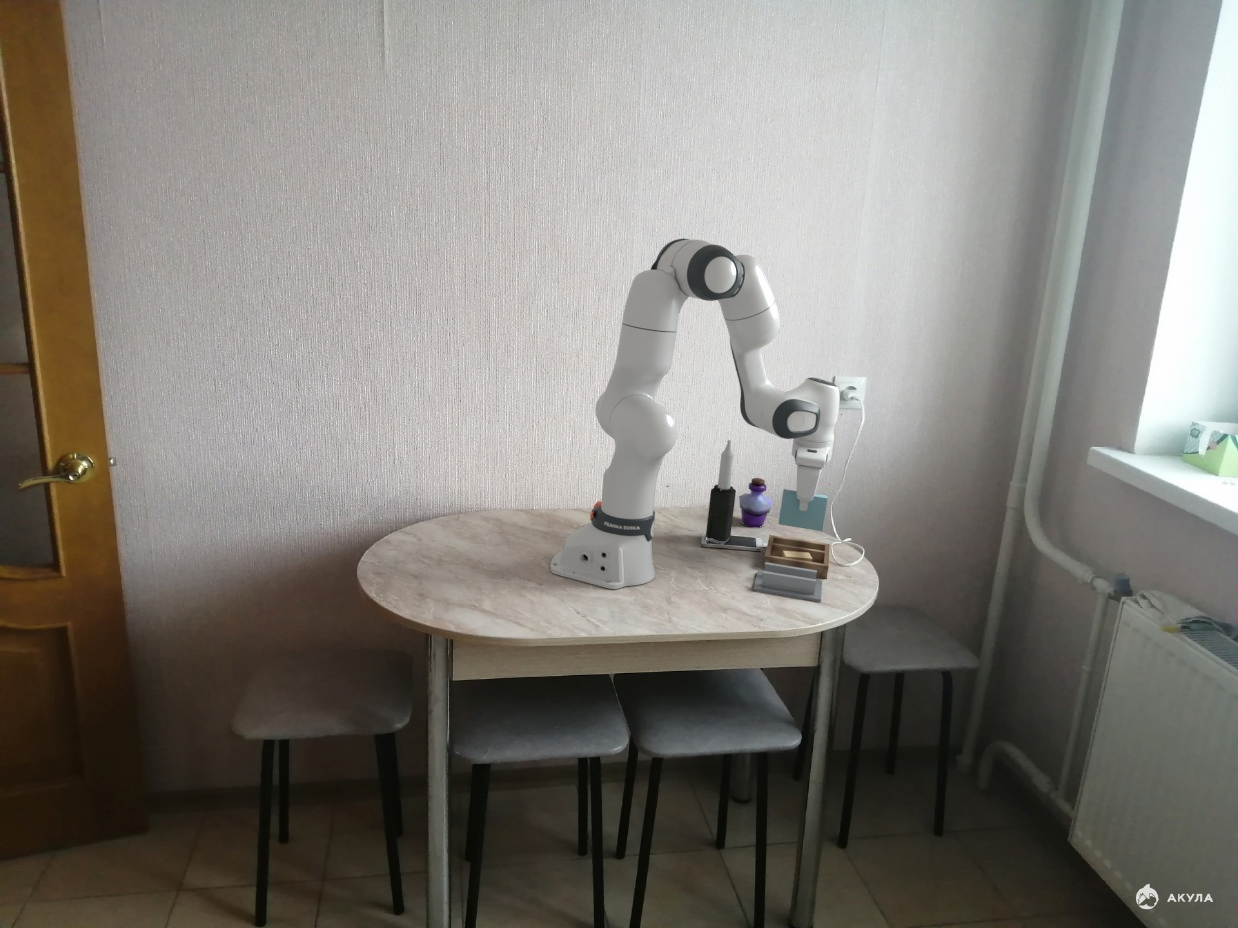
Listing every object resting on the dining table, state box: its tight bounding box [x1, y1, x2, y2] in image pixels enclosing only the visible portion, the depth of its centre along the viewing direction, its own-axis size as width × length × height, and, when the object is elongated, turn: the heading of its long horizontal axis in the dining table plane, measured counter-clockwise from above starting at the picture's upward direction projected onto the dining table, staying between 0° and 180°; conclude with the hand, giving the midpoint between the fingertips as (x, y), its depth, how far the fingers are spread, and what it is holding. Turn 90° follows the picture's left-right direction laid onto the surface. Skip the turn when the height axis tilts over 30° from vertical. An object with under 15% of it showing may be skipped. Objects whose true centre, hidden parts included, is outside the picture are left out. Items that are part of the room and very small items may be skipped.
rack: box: [762, 534, 831, 580], centre depth 203 cm, size 14×14×3 cm
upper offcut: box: [782, 551, 812, 562], centre depth 200 cm, size 6×4×2 cm, turn 91°
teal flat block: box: [778, 488, 829, 532], centre depth 204 cm, size 10×2×8 cm, turn 77°
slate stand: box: [752, 562, 823, 603], centre depth 189 cm, size 14×10×4 cm
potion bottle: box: [738, 477, 774, 528], centre depth 224 cm, size 9×9×12 cm
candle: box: [705, 439, 737, 541], centre depth 209 cm, size 5×5×25 cm
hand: (803, 507), depth 204 cm, fingers closed on teal flat block, 2 cm apart
